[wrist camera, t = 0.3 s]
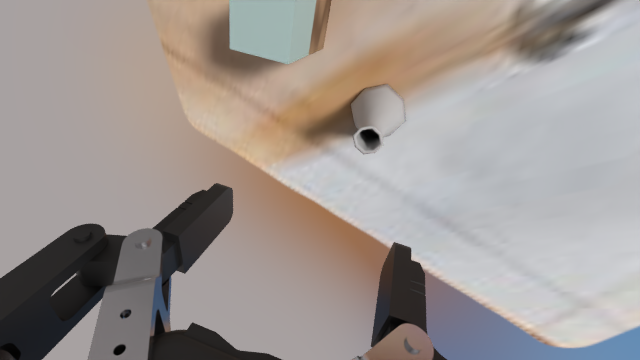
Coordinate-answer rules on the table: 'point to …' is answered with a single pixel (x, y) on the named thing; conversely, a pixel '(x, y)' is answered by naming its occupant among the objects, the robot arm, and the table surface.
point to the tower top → (272, 28)
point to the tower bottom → (319, 25)
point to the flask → (376, 117)
